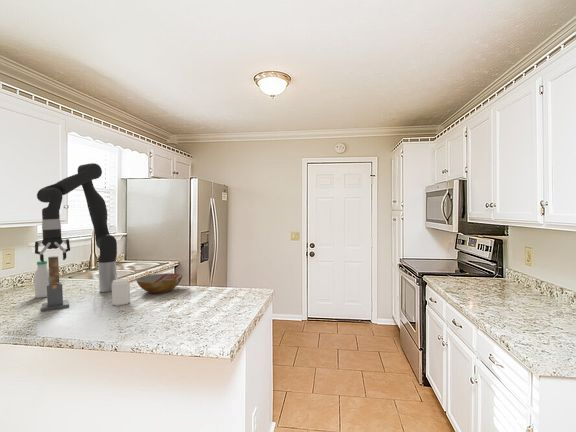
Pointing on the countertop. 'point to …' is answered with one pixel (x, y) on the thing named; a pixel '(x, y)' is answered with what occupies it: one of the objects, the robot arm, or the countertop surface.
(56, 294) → the stand sleeve
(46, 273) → the milk bottle
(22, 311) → the countertop surface
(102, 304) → the countertop surface
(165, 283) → the bowl
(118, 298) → the white upright block
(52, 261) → the walnut post
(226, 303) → the countertop surface
